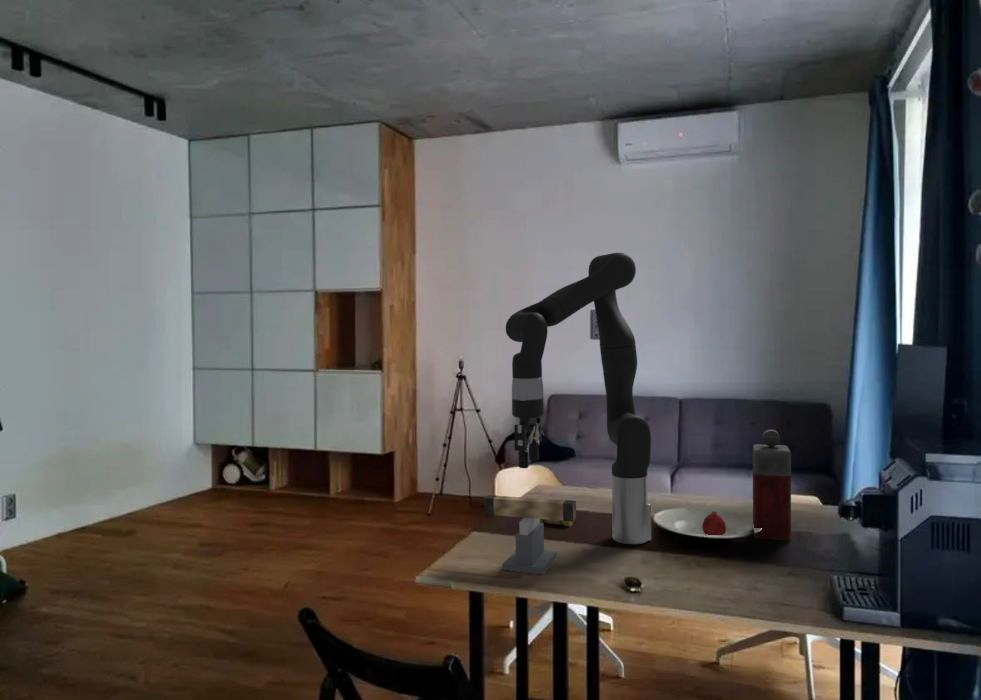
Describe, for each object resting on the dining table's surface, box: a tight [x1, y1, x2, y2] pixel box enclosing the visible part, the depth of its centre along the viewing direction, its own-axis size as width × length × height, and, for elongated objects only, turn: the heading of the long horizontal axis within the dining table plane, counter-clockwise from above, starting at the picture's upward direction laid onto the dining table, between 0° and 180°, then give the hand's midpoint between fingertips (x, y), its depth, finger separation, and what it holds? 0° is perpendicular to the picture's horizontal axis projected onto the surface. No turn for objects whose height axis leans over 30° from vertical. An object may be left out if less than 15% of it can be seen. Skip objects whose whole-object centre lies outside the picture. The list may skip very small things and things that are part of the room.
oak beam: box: [483, 494, 577, 523], centre depth 164 cm, size 22×3×4 cm, turn 70°
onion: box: [702, 510, 727, 536], centre depth 178 cm, size 6×6×8 cm
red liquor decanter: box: [752, 429, 792, 542], centre depth 184 cm, size 9×11×28 cm
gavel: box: [540, 519, 574, 528], centre depth 204 cm, size 21×5×10 cm
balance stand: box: [502, 517, 558, 576], centre depth 164 cm, size 10×12×12 cm
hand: (528, 464), depth 164 cm, fingers open, 8 cm apart
